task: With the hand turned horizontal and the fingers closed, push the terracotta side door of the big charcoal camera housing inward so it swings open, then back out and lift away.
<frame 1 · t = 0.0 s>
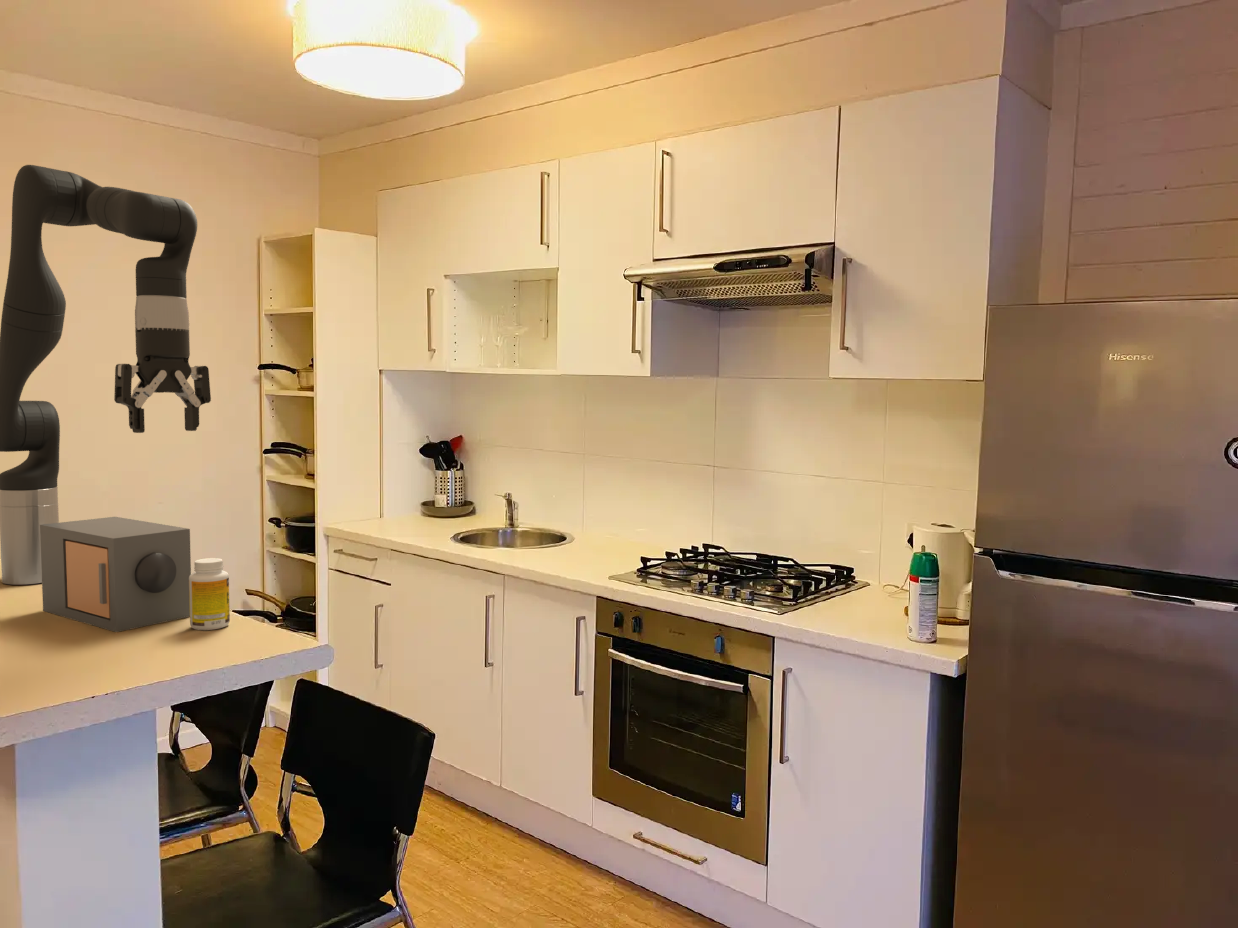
hand: (165, 431, 145), 29 cm above the countertop, tool pointing down, fingers open, 8 cm apart
supplement bottle: (210, 627, 141), on the countertop
door: (88, 578, 141), point 7 cm above the countertop, hinge at 0.0°
housing: (117, 613, 148), on the countertop
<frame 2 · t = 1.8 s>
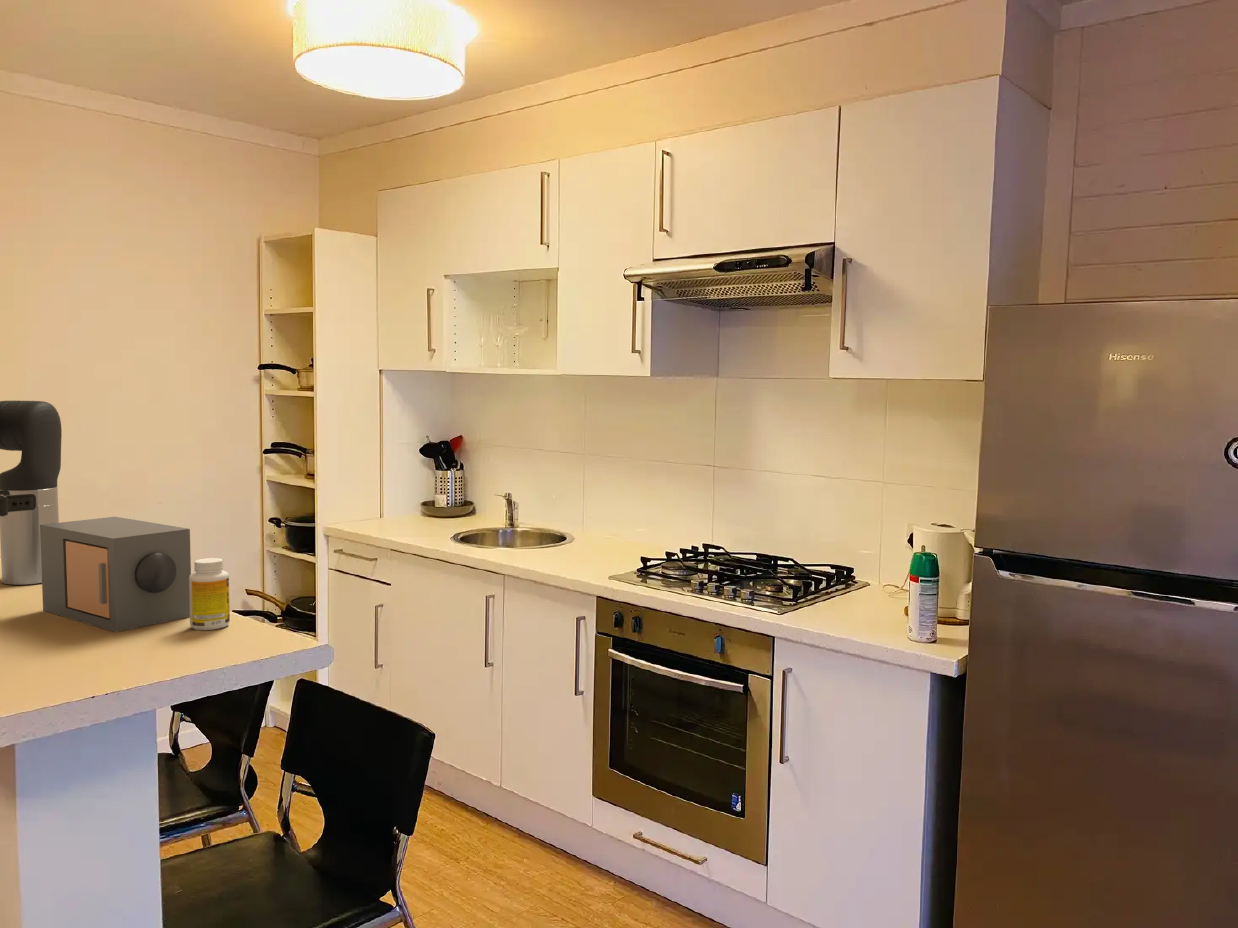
hand: (21, 499, 131), 20 cm above the countertop, tool horizontal, fingers open, 7 cm apart
nothing on the countertop moved.
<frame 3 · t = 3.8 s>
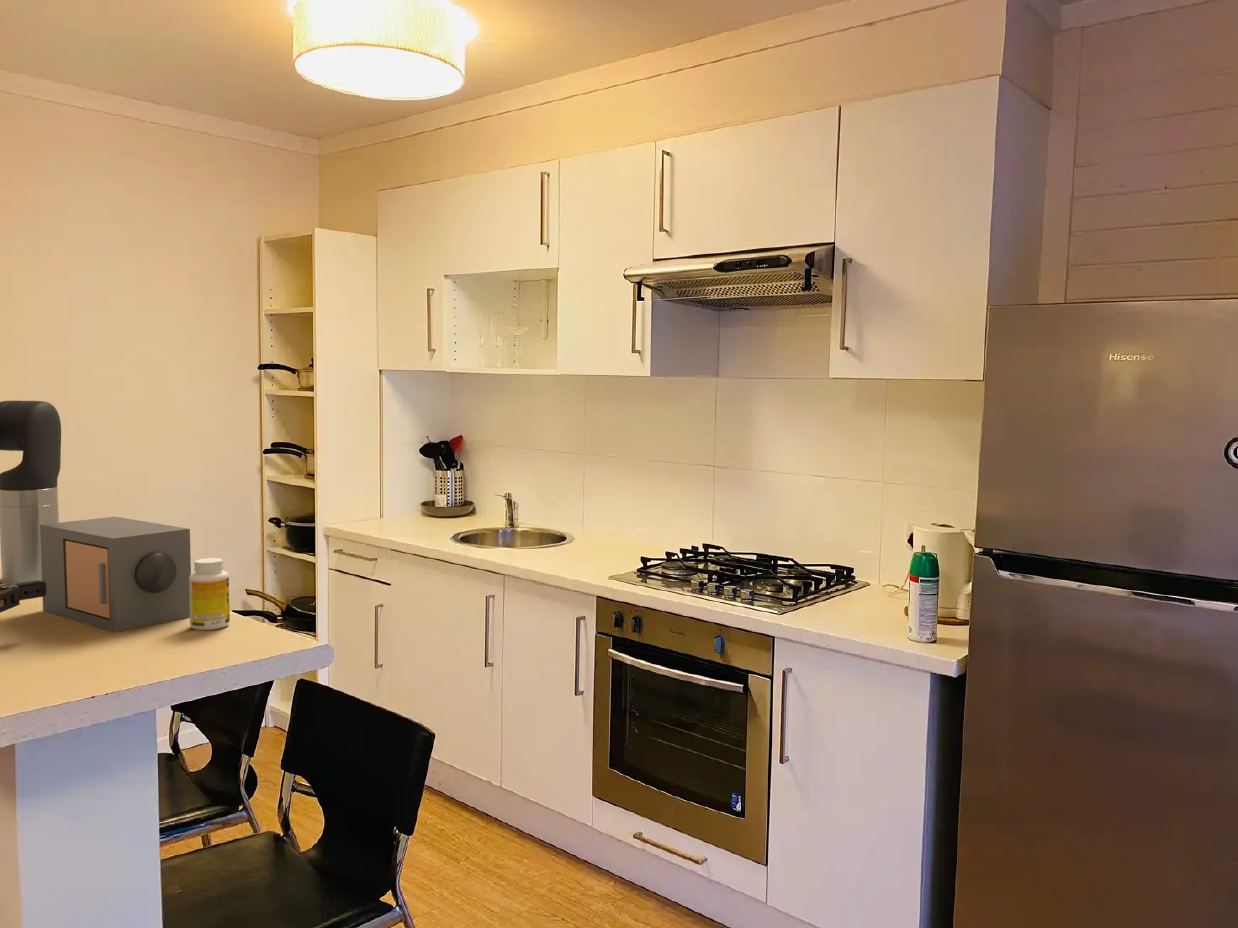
hand: (43, 587, 134), 7 cm above the countertop, tool horizontal, fingers closed
nothing on the countertop moved.
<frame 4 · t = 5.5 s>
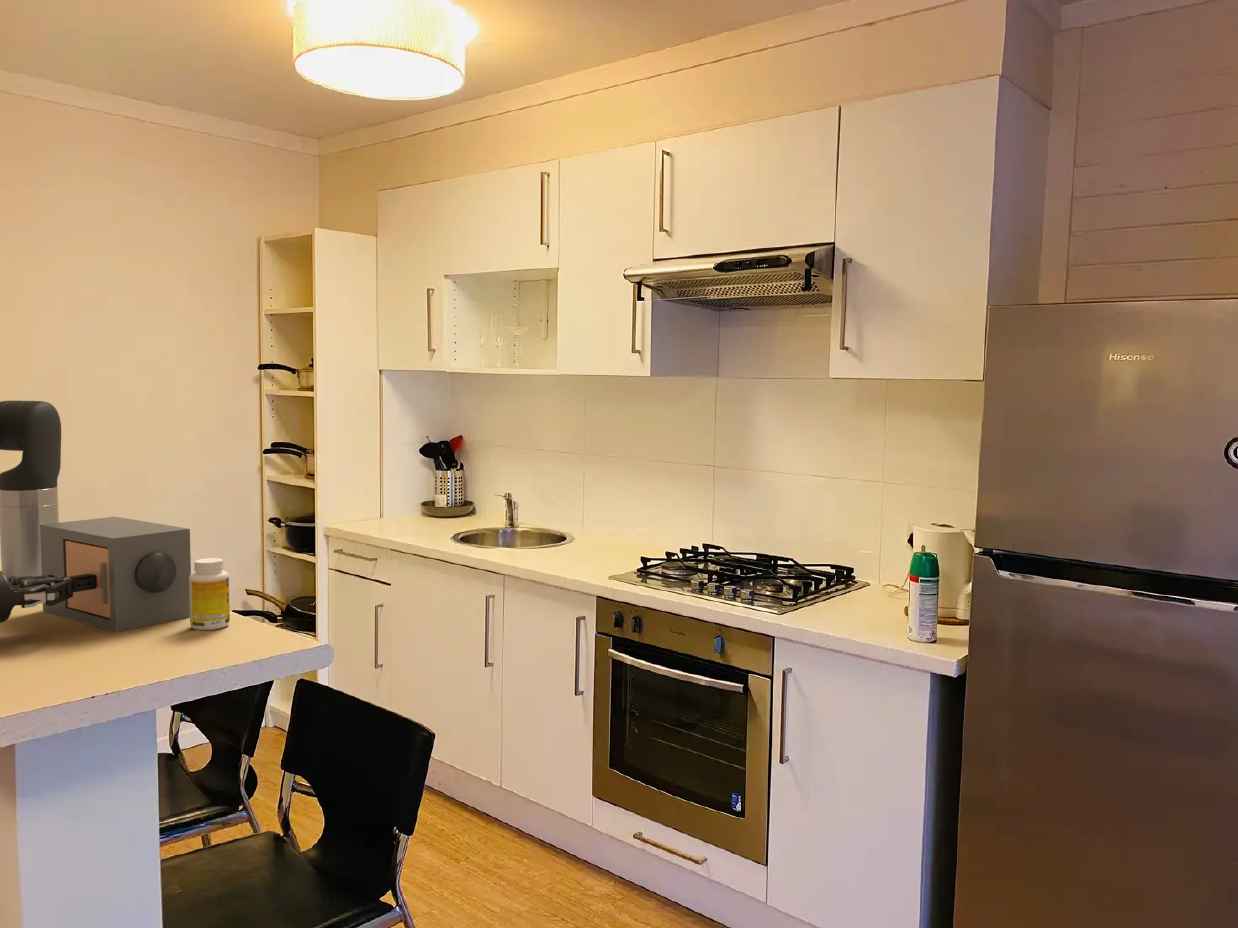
hand: (94, 580, 140), 7 cm above the countertop, tool horizontal, fingers closed
door: (88, 578, 141), point 7 cm above the countertop, hinge at 0.8°, touching gripper
everything else where it was.
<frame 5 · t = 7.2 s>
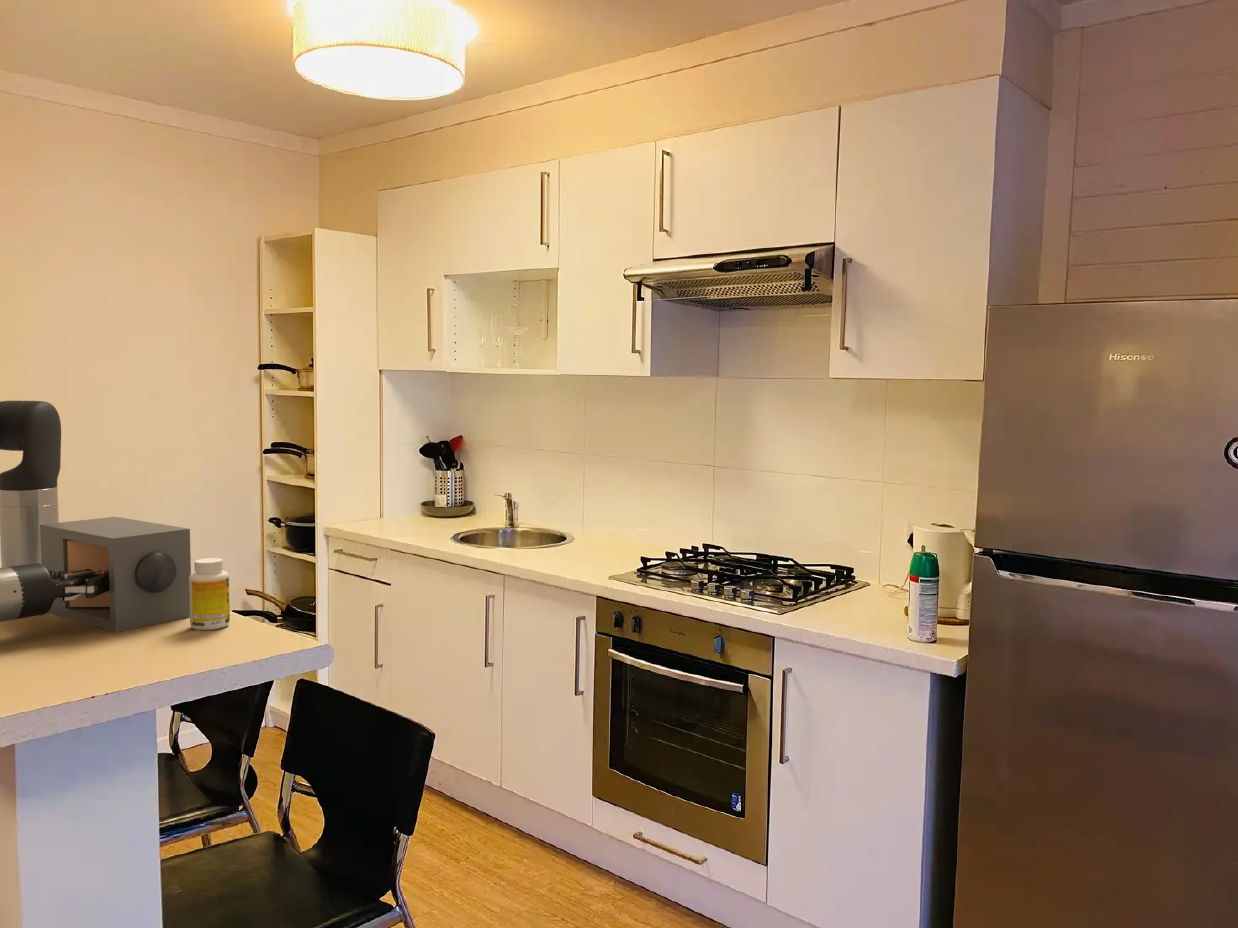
hand: (129, 574, 144), 7 cm above the countertop, tool horizontal, fingers closed
door: (109, 573, 145), point 7 cm above the countertop, hinge at 37.6°, touching gripper
everything else where it was.
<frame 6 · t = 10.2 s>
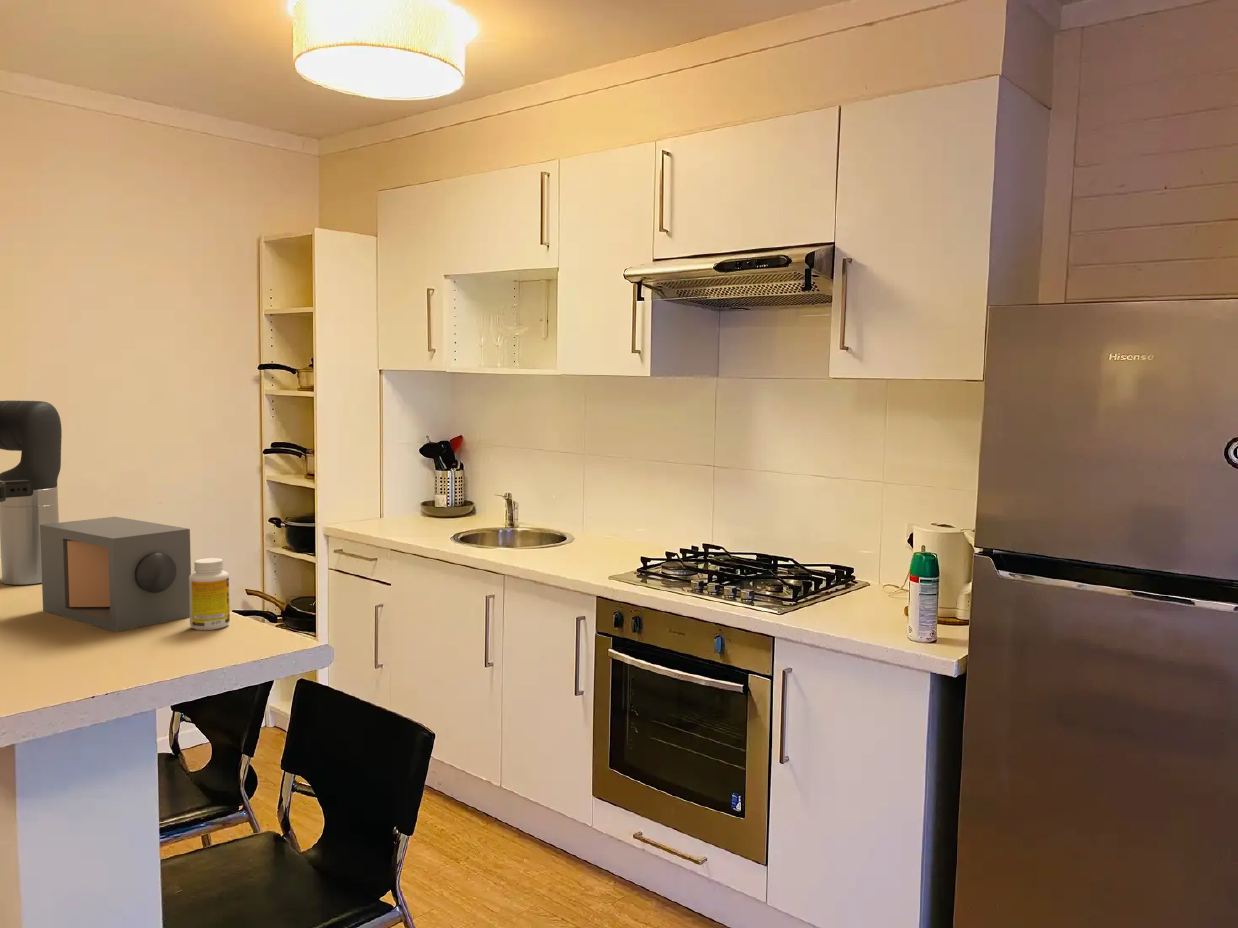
hand: (30, 487, 132), 22 cm above the countertop, tool horizontal, fingers closed
door: (109, 573, 145), point 7 cm above the countertop, hinge at 37.8°
everything else where it was.
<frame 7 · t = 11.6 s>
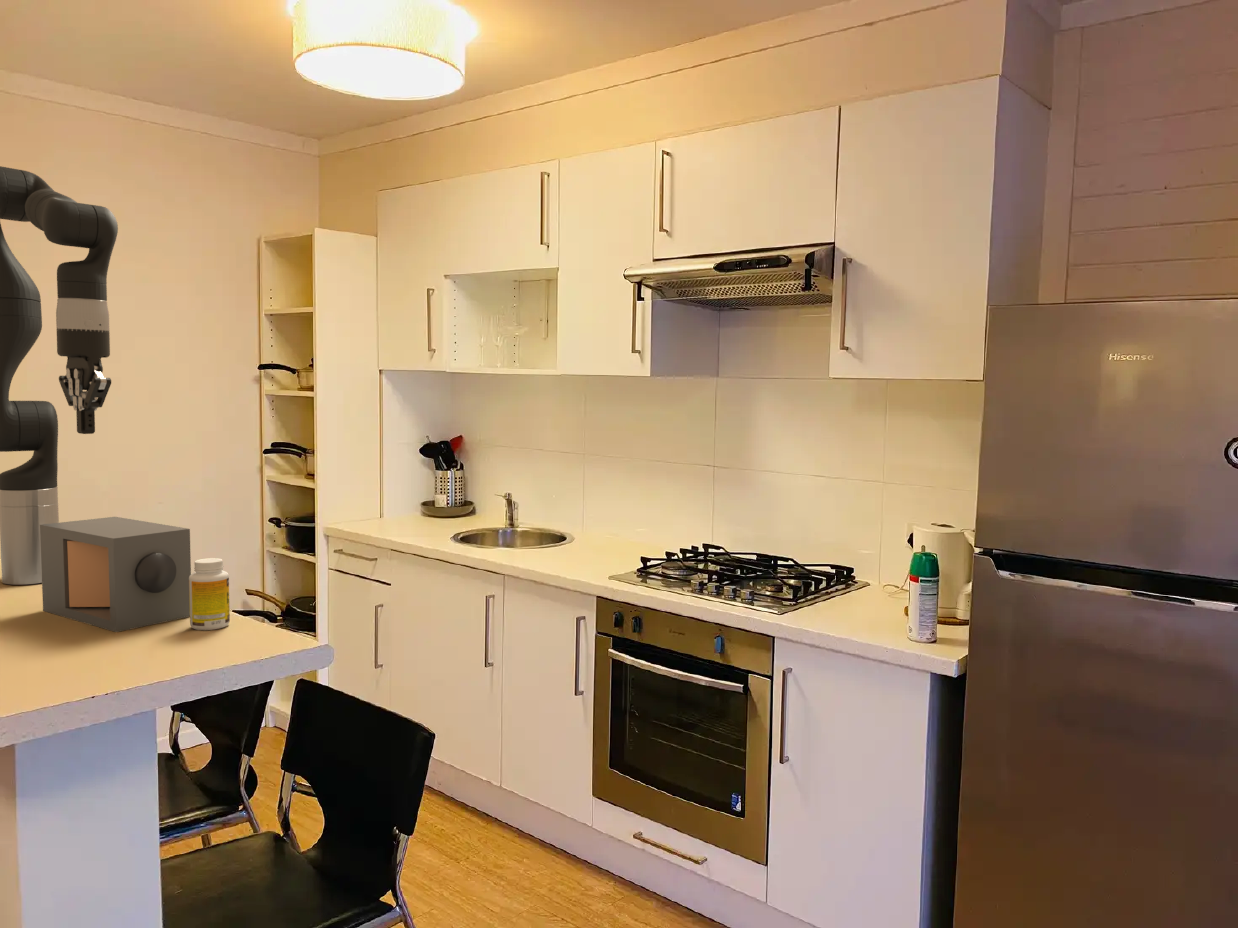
hand: (85, 433, 153), 28 cm above the countertop, tool pointing down, fingers closed
nothing on the countertop moved.
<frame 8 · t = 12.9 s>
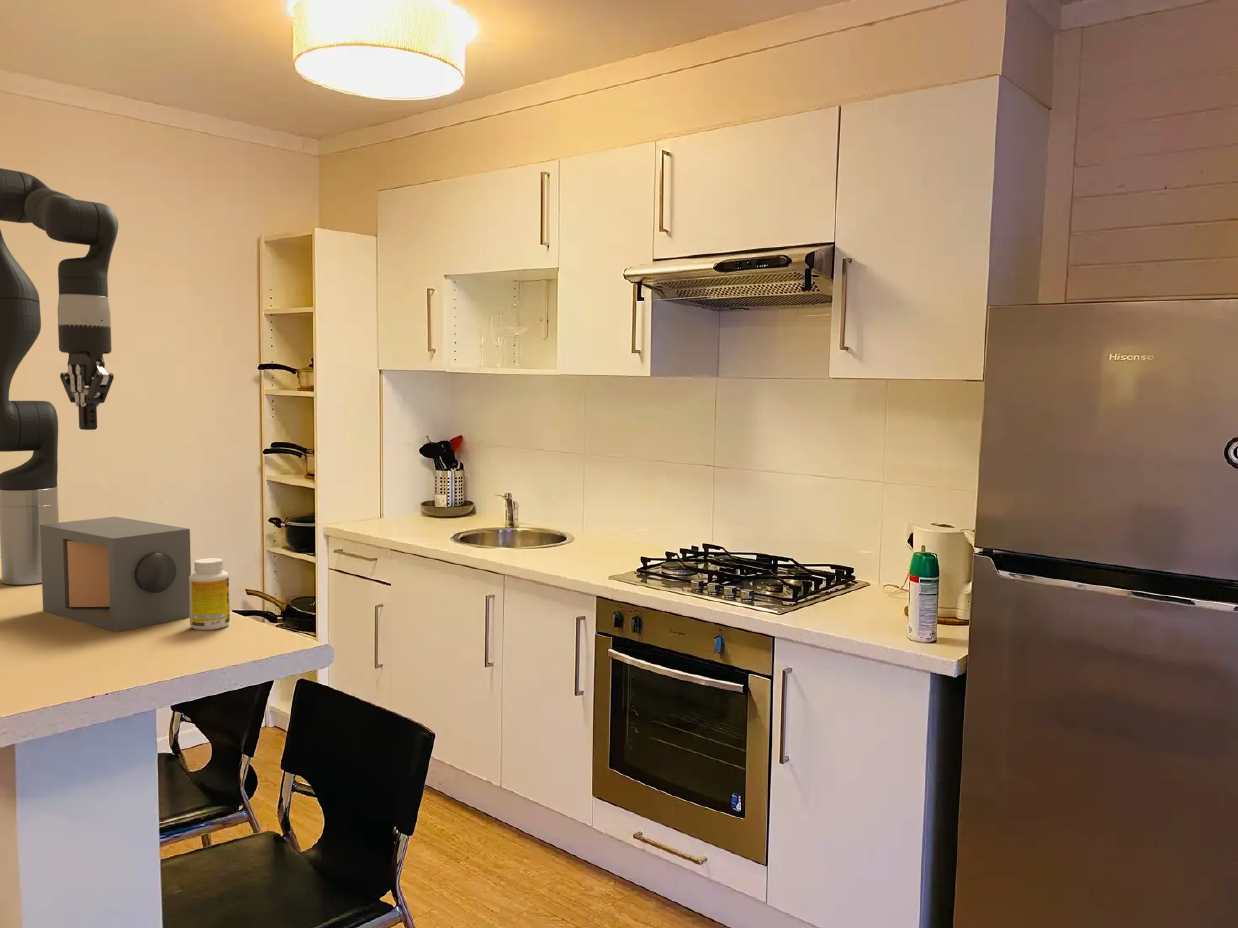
hand: (88, 429, 153), 29 cm above the countertop, tool pointing down, fingers closed
nothing on the countertop moved.
at the end: door at +38° (first picture: +0°); supplement bottle moved 0.2 cm from its start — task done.
